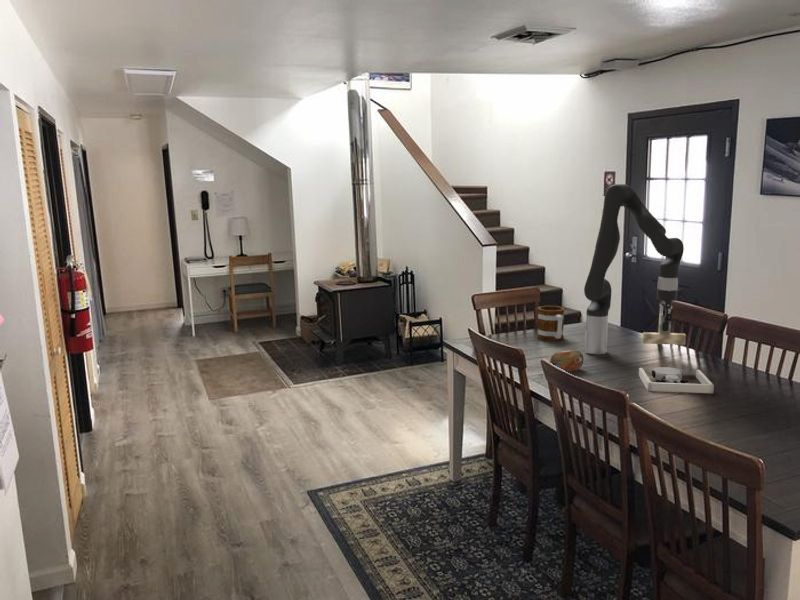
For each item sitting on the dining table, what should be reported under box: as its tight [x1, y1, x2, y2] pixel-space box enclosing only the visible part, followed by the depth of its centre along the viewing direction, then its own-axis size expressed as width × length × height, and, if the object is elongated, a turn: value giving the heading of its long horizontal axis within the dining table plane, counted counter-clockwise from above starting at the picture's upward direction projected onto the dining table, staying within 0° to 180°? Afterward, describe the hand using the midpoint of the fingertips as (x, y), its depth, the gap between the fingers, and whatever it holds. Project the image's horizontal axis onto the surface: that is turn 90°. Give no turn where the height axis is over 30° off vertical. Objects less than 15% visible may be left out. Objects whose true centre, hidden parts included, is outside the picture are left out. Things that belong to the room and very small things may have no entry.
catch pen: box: [638, 367, 715, 394], centre depth 242 cm, size 22×19×3 cm
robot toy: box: [648, 366, 692, 384], centre depth 243 cm, size 12×4×15 cm
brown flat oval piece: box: [549, 349, 584, 373], centre depth 261 cm, size 15×3×8 cm, turn 112°
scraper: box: [642, 313, 687, 346], centre depth 259 cm, size 16×3×12 cm, turn 79°
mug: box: [536, 305, 565, 342], centre depth 310 cm, size 20×14×15 cm
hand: (664, 329), depth 259 cm, fingers closed on scraper, 3 cm apart
